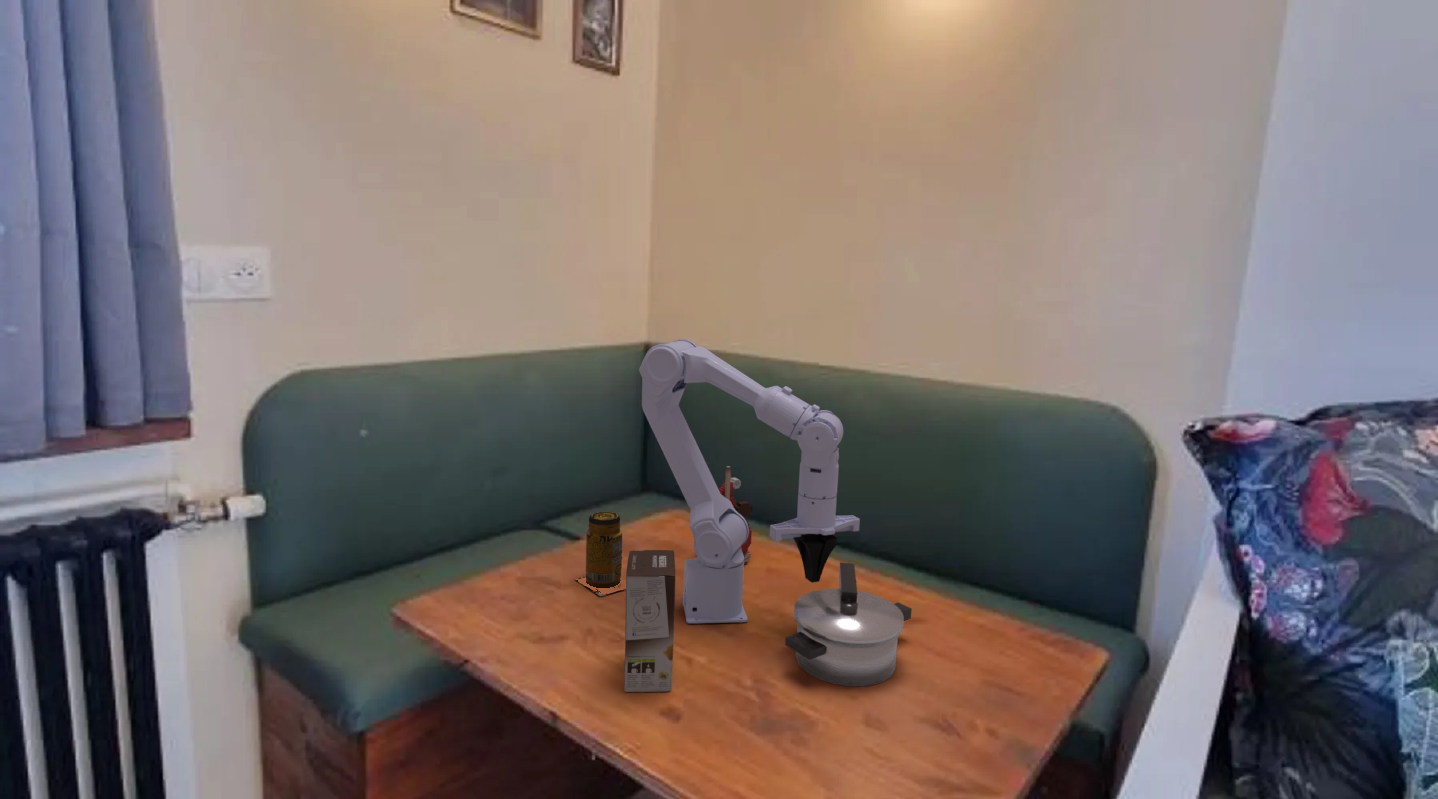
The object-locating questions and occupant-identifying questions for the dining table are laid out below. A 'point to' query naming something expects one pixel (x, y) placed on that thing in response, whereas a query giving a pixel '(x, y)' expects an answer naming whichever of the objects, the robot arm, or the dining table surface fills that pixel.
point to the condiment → (603, 550)
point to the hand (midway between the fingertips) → (812, 579)
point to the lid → (848, 613)
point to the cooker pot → (845, 658)
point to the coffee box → (649, 620)
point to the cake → (737, 506)
